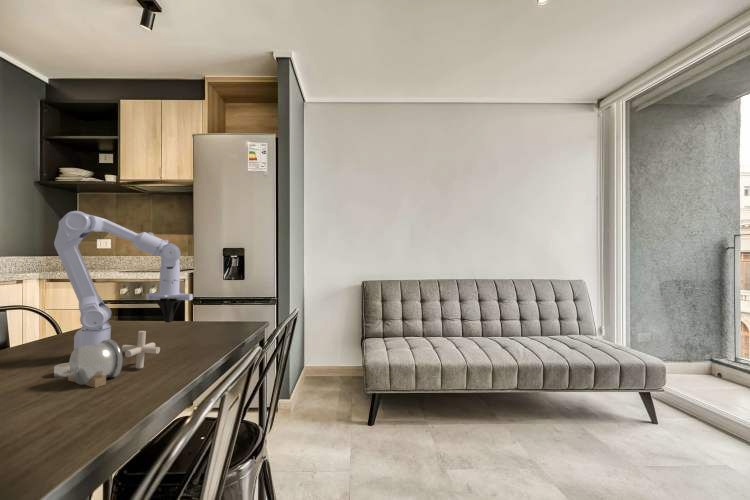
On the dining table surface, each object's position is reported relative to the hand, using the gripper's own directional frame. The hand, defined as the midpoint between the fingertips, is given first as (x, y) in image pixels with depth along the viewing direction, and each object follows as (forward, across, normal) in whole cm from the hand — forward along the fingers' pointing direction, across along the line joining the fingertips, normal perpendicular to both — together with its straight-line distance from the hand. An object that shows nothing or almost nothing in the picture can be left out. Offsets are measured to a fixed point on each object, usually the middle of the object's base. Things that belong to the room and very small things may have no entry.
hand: (168, 321), depth 120 cm
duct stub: (+9, -2, -28) cm, 29 cm away
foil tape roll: (+10, -13, -24) cm, 29 cm away
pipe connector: (+10, +2, -17) cm, 20 cm away
